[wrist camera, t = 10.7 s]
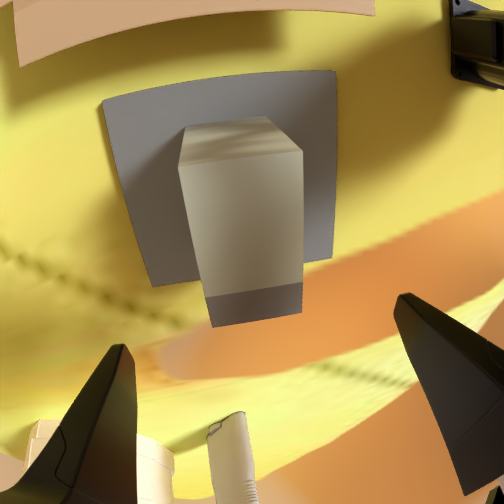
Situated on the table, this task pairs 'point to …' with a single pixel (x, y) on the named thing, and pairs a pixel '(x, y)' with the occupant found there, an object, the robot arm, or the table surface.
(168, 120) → the slate mat
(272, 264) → the box
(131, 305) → the table surface
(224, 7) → the light brown square frame
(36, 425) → the container
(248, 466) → the tall pale column
